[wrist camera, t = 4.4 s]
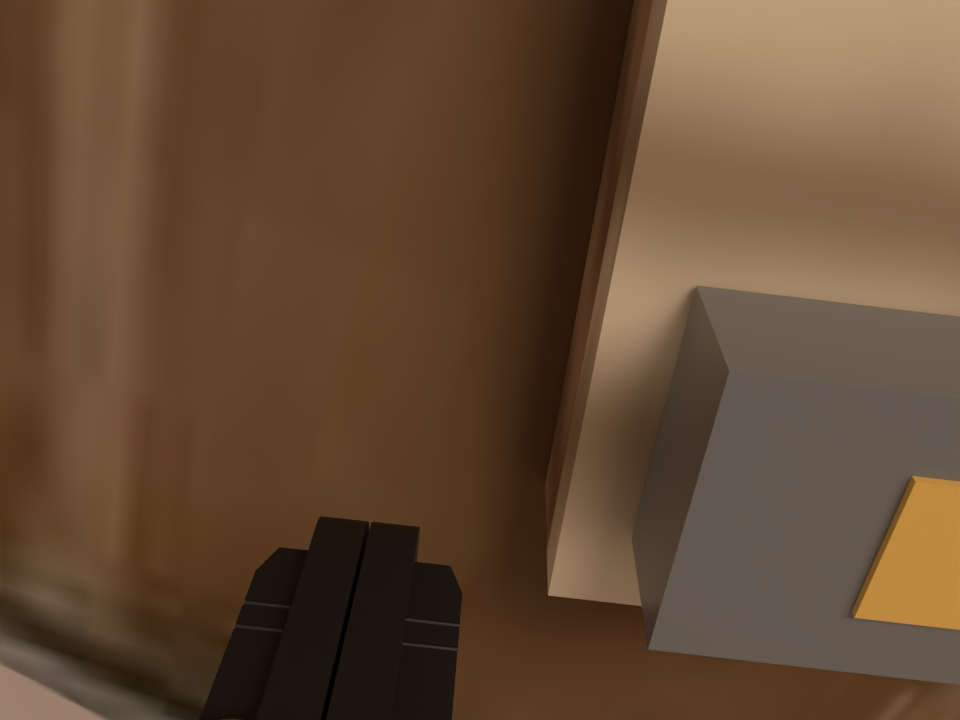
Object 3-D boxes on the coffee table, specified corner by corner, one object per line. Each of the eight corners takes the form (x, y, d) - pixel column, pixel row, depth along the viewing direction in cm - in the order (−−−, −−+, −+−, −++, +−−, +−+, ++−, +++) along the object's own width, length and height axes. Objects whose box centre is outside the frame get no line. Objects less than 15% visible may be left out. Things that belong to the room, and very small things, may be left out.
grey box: (696, 285, 16) (731, 376, 13) (1081, 331, 16) (1197, 431, 13) (631, 538, 19) (649, 655, 16) (955, 576, 19) (1027, 698, 16)
